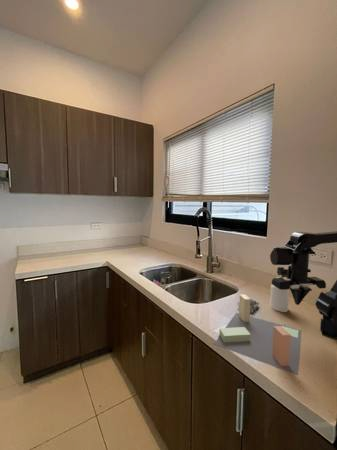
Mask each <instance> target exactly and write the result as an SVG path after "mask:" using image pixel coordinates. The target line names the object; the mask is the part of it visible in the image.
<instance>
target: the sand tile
mask: <svg viewBox="0 0 337 450" xmlns="http://www.w3.org/2000/svg"><path fill="white" fill-rule="evenodd" d="M250 299H251V298H250V297H249V296H248V295H246V294H243V293H242V294H239V306H238V313H239V317H240V318H241V319H242V320H243V322H249V321H250V316H251V312H250Z"/></svg>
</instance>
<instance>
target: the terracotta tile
mask: <svg viewBox="0 0 337 450" xmlns="http://www.w3.org/2000/svg"><path fill="white" fill-rule="evenodd" d="M290 340H291V335H290V334H289V333H288V332H287V331H286V330H285V329H284V328H282V327H281V326H274V329H273V348H272V356H273V357H274V358H275V359H276V360H277V362H278V363H279V364H280V365H281V366H289V356H290Z"/></svg>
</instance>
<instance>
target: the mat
mask: <svg viewBox="0 0 337 450" xmlns="http://www.w3.org/2000/svg"><path fill="white" fill-rule="evenodd" d="M274 326H281V327H282V328H284V329H285V330H286V331H287V332H288V333H289V334H290V335H291V340H290V356H289V366H281V365H280V364H279V363H278V362H277V360H276V359H275V358H274V357H273V356H272V348H273V329H274ZM235 327H245V328H246V329H247V331H248V332H249V333H250V334H251V338H250V341H241V342H223V340H222V338H221V336H220V335H219V336H218V337H217V339H216V340H215V342H214V343H213V345H215V346H218V347H221V348H223V349H226V350H229V351H231V352H234V353H237V354H239V355H242V356H244V357H248V358H251V359H253V360H256V361H259V362H262V363H265V364H266V365H270V366H272V367H275V368H277V369H281V370H284V371H286V372H288V373H291V374H294V375H299V369H300V368H299V366H300V365H299V364H300V363H299V362H300V354H301V353H300V351H301V342H302V329H298V328H295V327H290V326H286V325H285V324H284V325H283V324H280V323H275V322H272V321H268V320H264V319H261V318H257V317H253V316H251V315H250V321H249V322H243V320H242V319H241V318H240V317H239V312H235V314H234V315H233V316H232V318H231V320H230V321H229V322H228V323H227V325H226V326H225V328H235Z"/></svg>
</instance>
